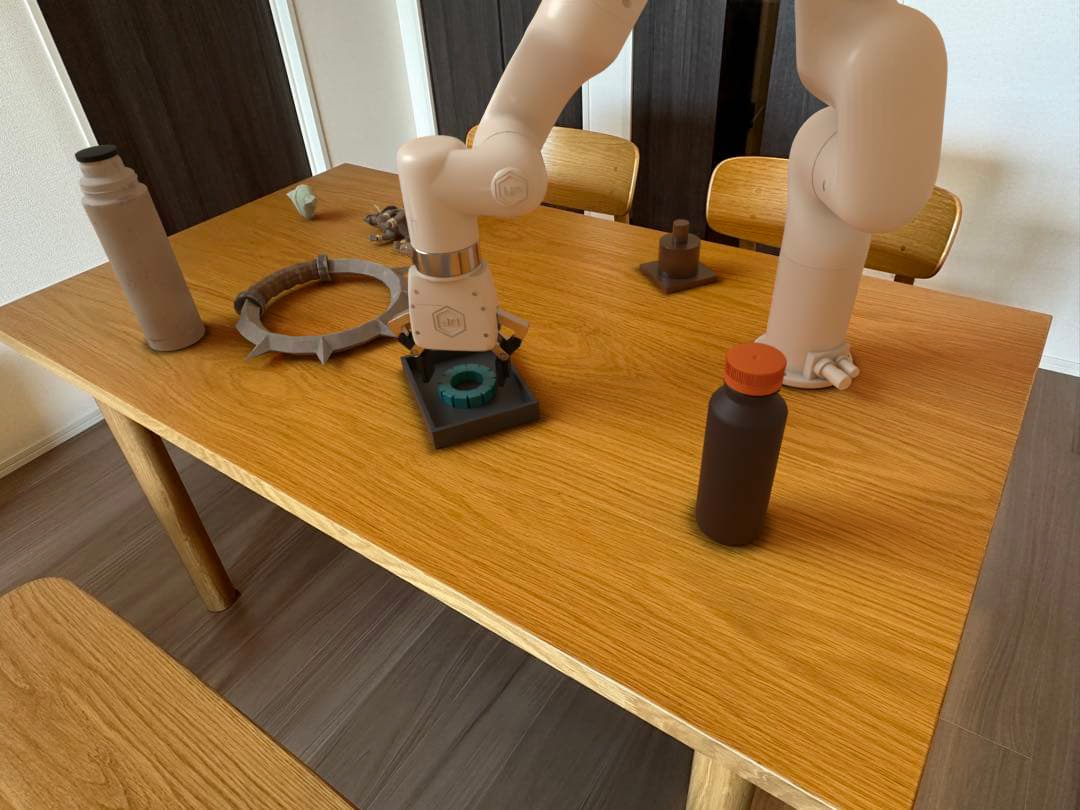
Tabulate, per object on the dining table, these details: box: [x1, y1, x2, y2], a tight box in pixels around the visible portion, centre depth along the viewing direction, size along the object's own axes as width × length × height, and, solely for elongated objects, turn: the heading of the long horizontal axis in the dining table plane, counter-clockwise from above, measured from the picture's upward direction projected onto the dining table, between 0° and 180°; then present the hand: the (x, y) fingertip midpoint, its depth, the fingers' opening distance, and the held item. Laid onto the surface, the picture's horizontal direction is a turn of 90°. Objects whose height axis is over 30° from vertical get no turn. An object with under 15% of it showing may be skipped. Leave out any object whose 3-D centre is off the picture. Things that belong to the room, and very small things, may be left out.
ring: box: [437, 364, 498, 408], centre depth 89 cm, size 7×7×2 cm
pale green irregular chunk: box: [286, 183, 318, 220], centre depth 136 cm, size 8×4×7 cm, turn 52°
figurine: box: [362, 203, 410, 250], centre depth 129 cm, size 20×6×17 cm
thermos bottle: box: [74, 144, 206, 352], centre depth 96 cm, size 8×8×28 cm
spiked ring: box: [233, 253, 412, 367], centre depth 106 cm, size 33×4×30 cm
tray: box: [399, 350, 541, 450], centre depth 89 cm, size 17×13×3 cm
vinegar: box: [694, 341, 789, 546], centre depth 64 cm, size 7×7×20 cm
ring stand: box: [639, 218, 718, 295], centre depth 109 cm, size 9×9×9 cm
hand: (465, 378), depth 88 cm, fingers open, 9 cm apart
